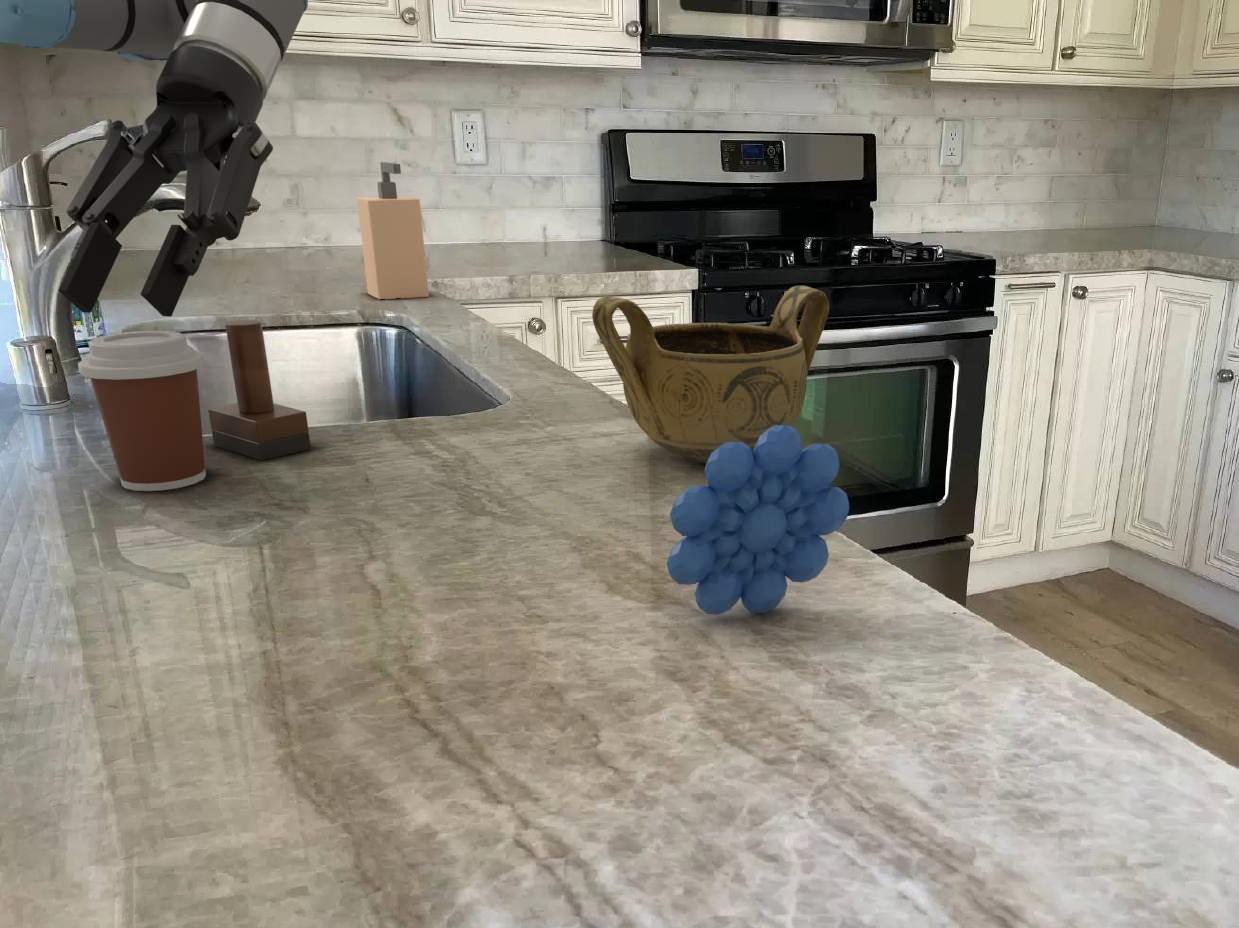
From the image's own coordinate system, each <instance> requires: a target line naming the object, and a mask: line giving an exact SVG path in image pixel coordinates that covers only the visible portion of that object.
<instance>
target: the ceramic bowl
mask: <svg viewBox="0 0 1239 928" xmlns="http://www.w3.org/2000/svg"><path fill="white" fill-rule="evenodd" d="M804 305H805V306H804ZM803 307H804V309H803V312H802V316H801V319H800V323H799V324H798V321H797V319H798V317H799V313H800V311H801V310H802V308H803ZM617 309H619V310H620V311H621V313H622V314H623V315H624V317H625V319H626V321H627V323H628V325H629V328H630V329H629V330H630V333H628V334H627V337H626V344H624V343H623V341H622V339H621V336H620V335H619V333H618V331H617V328H616V326H615V324H614V321H613V316H614V313H615V312H616V310H617ZM829 313H830V301H829V299H828V297H827V296H826V293H824V292H823V291H822V290H819V289H816V288H813V287H811V286H806V285H795V286H794V285H793V286H792V287H790V288H789V289H788V290H787V291H786V292H785V293H784V294H783V295H782V297H781V298H780V300H779V302H778V304H777V306H776V307H775V310H774V312H773V315H772V316H773V317H772V320H771V322H770V324H769V325H768V326H764V325H755V324H746V323H728V322H688V323H687V322H686V323H671V324H669V323H668V324H660V325H654V326H653V325H652V323H651V321H650V319H649V317H648V315H647V314H646V313H645V311H644V310H642V308H641V307H640V306H639V304H637V303H636V302H634V301H633V300H630V299H627V298H623V297H616V296H609V295H605V296H602V297H599V298H598V299H597V300H596V301H595V303H594V306H593V308H592V313H591V314H592V315H591V317H592V318H591V319H592V322H593V326H594V329H595V332H596V334H597V335H598V337H599V339H600V341H601V344H602V345H603V347H604V349H605V351H606V353H607V355H608V357H609V359H610V361H611V363H612V366H613V367H614V369H615V371H616V373H617V374H618V376H619V378H620V380H621V382H622V386H623V387H622V388H623V392H624V393H623V394H624V396H625V401H626V404H627V407H628V410H629V411H630V414H631V416H632V417H633V419H634V421H635V422H636V424H637V425H638V427H639V428H640V429H641V430H642V431H643V433H644V434H645V435H647V436H648V438H649V439H650V440H651V441H653V442H654V443H655V444H657V445H658V446H659V447H661V448H662V449H664V450H666V451H667V452H669V453H671V454H672V455H675V456H678V457H680V458H682V459H685V460H687V461H691V462H694V463H700V464H705V465H706V464H707V460H708V459H709V457H710V455H711V453H712V452H713V451H714V450H715V449H716V448H718V447H719V446H721V445H722V444H724V443H726V442H743V443H745V444H746V445H747V446H748V447H750V448H751V450H752V454H753V451H754V447H755V444H756V442H757V440H758V439H759V437H760V436H761V435H762V434H763V433H764V432H765V431H766V430H768V429H769V428H771V427H773V426H775V425H786V426H792V427H794V425H795V423H796V421H797V419H798V417H799V415H800V413H801V410H802V407H803V405H804V403H805V399H806V393H807V383H808V373H809V371H810V368H811V365H812V362H813V359H814V356H815V354H816V350H817V348H818V345H819V342H820V340H821V337H822V334H823V331H824V328H825V326H826V323H827V320H828V316H829Z"/></svg>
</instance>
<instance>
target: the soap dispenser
mask: <svg viewBox="0 0 1239 928" xmlns="http://www.w3.org/2000/svg"><path fill="white" fill-rule="evenodd" d="M379 164H380V173H381V181H377V182H376V183H377V184H376V185H377V192H378V193H377V194H378V196H363V197H362V196H361V197H359V196H357V197H356V202H357V211H358V220H359V229H360V238H361V245H362V246H361V247H362V254H363V262H364V271H365V280H366V288H367V294H368V295H370V296H372V297H374V298H375V299H377V298H378V299H377V300H379V299H385V300H397V299H396V298H401V299H416V298H429V297H430V293H429V284H428V283H429V282H428V272H427V261H426V260H427V259H426V251H425V241H424V231H423V220H422V219H423V218H422V209H421V200H420V198H416V197H411V196H407V195H406V196H405V195H404V196H403V195H402V196H401V195H400V196H398V193H397V184H396V182H395V181H391V175H390V174H394V175H401V174H402V170H401V164H400V163H396V162H389V161H379Z"/></svg>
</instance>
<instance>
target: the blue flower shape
mask: <svg viewBox="0 0 1239 928" xmlns="http://www.w3.org/2000/svg"><path fill="white" fill-rule="evenodd" d="M840 466H841V465H840V459H839V455H838V451H837V449H835V448H834V447H833V446H832V445H830V443H811V444H809V445H808V446H806V447H804V448H803V443H802V439H801V435H800V432H799V431H798V430H797V429H795V428H794V426H786V425H775V426H773V427H771V428H769V429H768V430H766V431H765V432H764V433H763V434H762V435H761V436H760V437H759V439H758V440H757V442H756V444H755V447H754V451H753V454H752V450H751V448H750V447H748V446H747V445H746V444H745V443H743V442H726V443H724V444H722V445H721V446H719V447H718V448H716V449H715V450H714V451H713V452H712V453H711V455H710V457H709V459H708V460H707V464H706V463H705V467H704V471H703V472H704V475H705V480H706V482H707V485H692V486H690V487H688V488H686V489H685V490H683V491H682V492H681V493H680V494H679V495H678V496H677V497H676V499H675V501H674V502H673V504H672V507H671V511H670V514H669V516H670V520H671V524H672V527H673V529H674V531H676V532H677V533H678V534H679V535H681V536H682V537H683V538H681V539H680V540H679V541H678V542H676V543H675V545H673V547H672V549H671V550H670V552H669V555H668V558H667V562H666V565H667V570H668V574H669V576H670V578H671V579H672V580H673V581H674V582H675V583H677V584H678V585H686V586H689V585H690V586H691V585H696V588H695V592H694V597H695V601H696V604H697V607H698V608H699V609H700V610H701V611H702V612H703V613H704V614H706V615H715V616H717V615H722V614H724V613H727V612H729V611H731V610H732V609H733V608H734V607H735V605H736V604H737V603H738V602H739V601H740V599H741V604H742V606H743V607H744V609H746V610H747V611H749V612H750V613H752V614H765V613H768V612H770V611H772V610H774V609H776V608H777V607H778V606H779V604H780V603H781V602H782V600H783V599H784V598H785V596H786V594H787V590H788V586H789V585H788V582H787V581H788V580H787V579H789V580H790V581H791V582H793V583H808V582H810V581H812V580H814V579H815V578H818V576H819V575H820V574H821V573H822V572H823V570H824V569H825V568H826V566H827V564H828V560H829V556H830V552H829V549H828V548H829V547H828V544H827V540H826V539H824V538H823V537H822V536H829V535H831V534H833V533H835V532H837V531H838V530H839V529H840V528H841V527H842V526H843V524H844V523H845V521H847V519H848V516H849V511H850V509H851V508H850V502H849V497H848V495H847V492H845V491H844V490H843V489H842V488H840V487H839V486H831V485H832V483H833V482H834V481H835V479H836V478H837V476H838V473H839V470H840Z"/></svg>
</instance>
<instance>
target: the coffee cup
mask: <svg viewBox="0 0 1239 928" xmlns="http://www.w3.org/2000/svg"><path fill="white" fill-rule="evenodd" d="M88 348H89V352H88V353H87V354H85V356H84V358H83V359H81V360H80V361H78V363H77V368H78V372H79V374H81V376H82V377H84V378H85V377H86V378H89V379H90V382H91V387H92V389H93V392H94V395H95V399H96V402H97V405H98V409H99V412H100V417H101V419H102V422H103V425H104V430H105V432H106V435H107V438H108V442H109V445H110V449H111V453H112V455H113V459H114V462H115V465H116V468H117V471H118V475H119V479H120V483H121V485H122V487H123V488H124V489H126V490H131V491H135V492H136V491H138V492H155V491H156V492H157V491H168V490H174V489H180V488H185V487H188V486H191V485H195V484H198V483H199V482H201V481H203V480H205V478H206V476H207V472H206V465H205V453H204V441H203V439H204V438H203V428H202V416H201V404H200V392H199V381H198V369H201V368H202V367H203V366H204V365H205V359H204V355H203V354H202V353H201V352H199V351H197V350H195V349H194V347H192V346H191V345H189V344H188V339H187V336H186V335H184V334H183V333H181V332H178V331H172V330H136V331H135V330H134V331H125V332H124V331H123V332H117V333H109V334H104V335H101V336H96V337H94V338H92V339H91V340H90V341H88Z"/></svg>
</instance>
